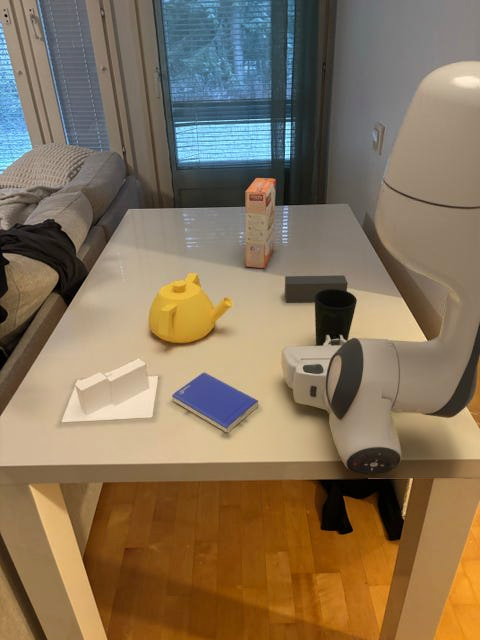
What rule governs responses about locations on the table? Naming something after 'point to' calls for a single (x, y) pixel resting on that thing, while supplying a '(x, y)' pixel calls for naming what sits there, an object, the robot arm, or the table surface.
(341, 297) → the cup
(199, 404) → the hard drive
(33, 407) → the table surface
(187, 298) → the teapot
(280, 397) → the table surface
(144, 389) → the napkin holder
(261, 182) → the cracker box
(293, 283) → the stop block
